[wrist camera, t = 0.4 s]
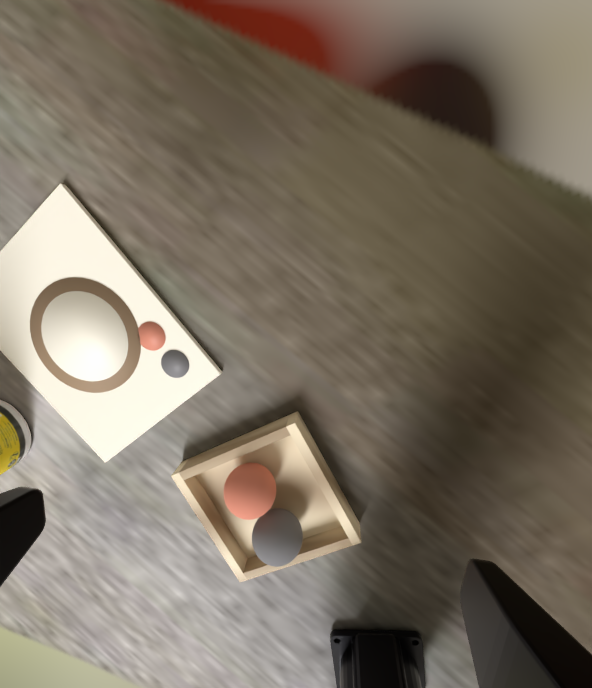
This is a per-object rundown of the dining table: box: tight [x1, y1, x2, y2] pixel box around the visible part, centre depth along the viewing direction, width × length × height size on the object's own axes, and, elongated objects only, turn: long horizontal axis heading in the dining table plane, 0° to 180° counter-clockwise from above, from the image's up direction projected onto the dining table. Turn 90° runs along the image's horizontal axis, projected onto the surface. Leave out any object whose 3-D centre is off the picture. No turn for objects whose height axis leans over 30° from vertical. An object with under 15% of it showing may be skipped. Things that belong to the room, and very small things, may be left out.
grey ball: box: [252, 508, 303, 567], centre depth 21 cm, size 3×3×3 cm
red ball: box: [224, 463, 276, 520], centre depth 21 cm, size 3×3×3 cm
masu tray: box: [171, 411, 361, 582], centre depth 22 cm, size 9×9×2 cm
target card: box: [0, 184, 222, 462], centre depth 21 cm, size 14×11×1 cm
